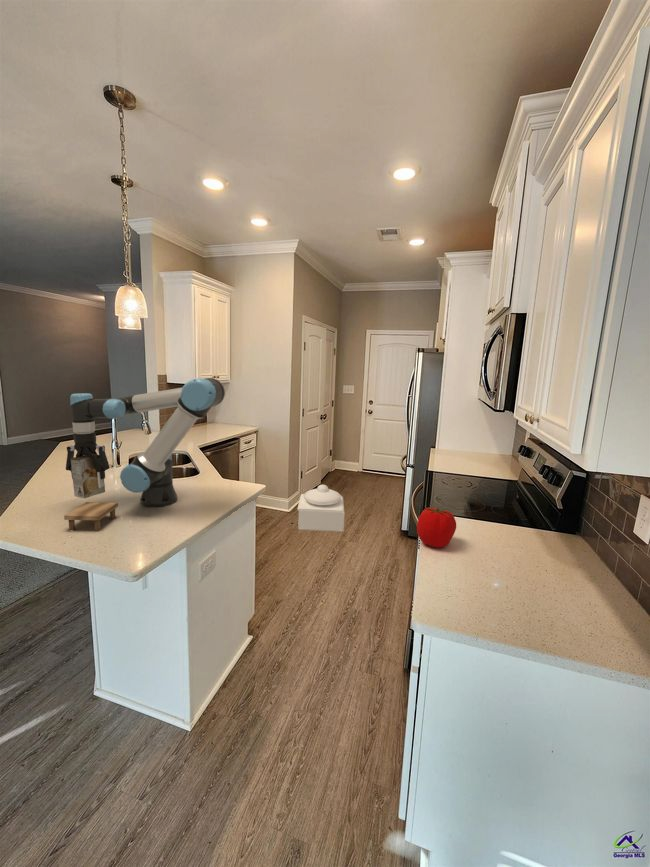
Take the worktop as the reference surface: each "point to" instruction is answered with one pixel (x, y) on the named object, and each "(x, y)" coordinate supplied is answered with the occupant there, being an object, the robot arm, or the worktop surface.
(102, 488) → the coffee box
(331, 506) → the white lidded dish
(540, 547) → the worktop surface
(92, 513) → the stool
